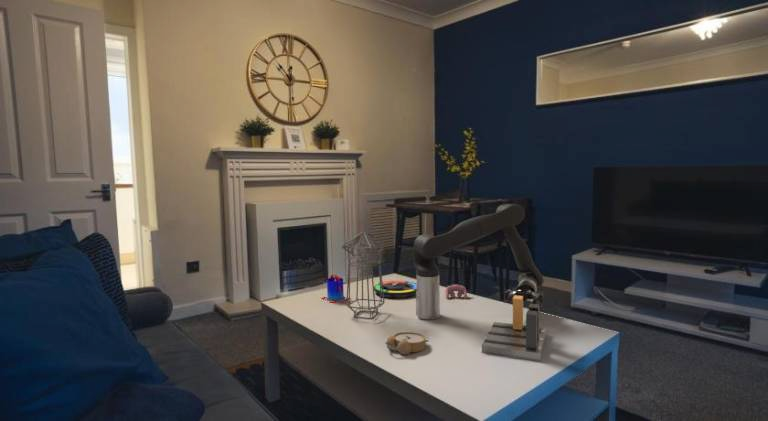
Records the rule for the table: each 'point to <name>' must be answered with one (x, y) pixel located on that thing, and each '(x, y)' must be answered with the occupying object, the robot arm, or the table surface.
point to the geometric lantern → (353, 243)
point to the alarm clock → (406, 342)
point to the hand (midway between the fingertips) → (521, 301)
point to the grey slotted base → (517, 338)
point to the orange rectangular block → (518, 312)
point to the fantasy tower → (335, 290)
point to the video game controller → (458, 288)
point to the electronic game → (397, 289)
